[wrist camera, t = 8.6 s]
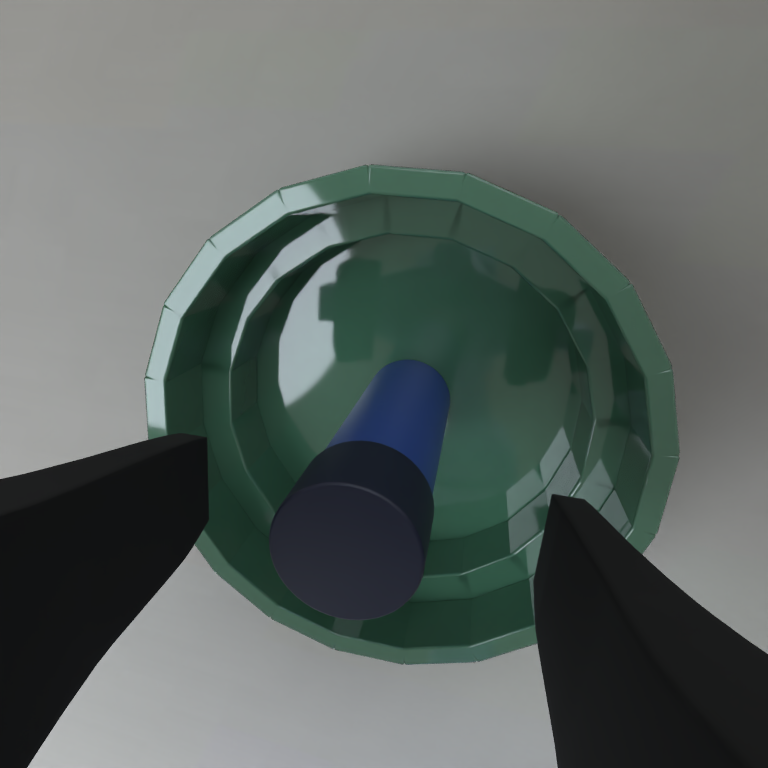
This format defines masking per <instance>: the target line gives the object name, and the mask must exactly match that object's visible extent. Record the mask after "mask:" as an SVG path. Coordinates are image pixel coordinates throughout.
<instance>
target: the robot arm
mask: <svg viewBox="0 0 768 768" xmlns="http://www.w3.org/2000/svg"><path fill="white" fill-rule="evenodd" d="M208 521H209V491H208V447H207V437H203V436H197V435H191V434H184V433H178V434H171V435H166V436H162V437H157V438H153V439H150V440H146V441H142V442H139V443H135V444H132V445H128V446H125V447H121V448H118V449H114V450H111V451H108V452H104V453H101V454H97V455H94V456H90V457H87V458H83V459H80V460H76V461H72V462H68V463H64V464H61V465H57V466H53V467H49V468H45V469H42V470H38V471H34V472H30V473H26V474H22V475H17V476H13V477H8V478H4V479H0V768H27V767H28V765H29V764H30V762H31V761H32V759H33V758H34V756H35V755H36V753H37V752H38V750H39V749H40V747H41V746H42V744H43V742H44V741H45V739H46V738H47V736H48V735H49V733H50V732H51V730H52V729H53V727H54V726H55V724H56V723H57V721H58V720H59V718H60V717H61V715H62V714H63V712H64V711H65V709H66V708H67V706H68V705H69V703H70V702H71V701H72V699H73V698H74V696H75V695H76V693H77V692H78V691H79V689H80V688H81V686H82V685H83V683H84V682H85V680H86V679H87V678H88V676H89V675H90V673H91V672H92V670H93V669H94V668H95V666H96V665H97V663H98V662H99V661H100V660H101V658H102V657H103V656H104V655H105V653H106V652H107V651H108V649H109V648H110V647H111V646H112V644H113V643H114V642H115V641H116V640H117V638H118V637H119V636H120V635H121V634H122V633H123V631H124V630H125V629H126V628H127V627H128V626H129V624H130V623H131V622H132V621H133V620H134V618H135V617H136V616H137V615H138V614H139V613H140V611H141V610H142V609H143V608H144V607H145V606H146V604H147V603H148V602H149V601H150V600H151V599H152V597H153V596H154V595H155V594H156V593H157V592H158V590H159V589H160V588H161V587H162V586H163V584H164V583H165V582H166V581H167V580H168V579H169V577H170V576H171V575H172V574H173V573H174V571H175V570H176V569H177V568H178V567H179V565H180V564H181V563H182V562H183V560H184V559H185V558H186V556H187V555H188V553H189V552H190V550H191V549H192V547H193V546H194V544H195V543H196V541H197V539H198V538H199V536H200V534H201V533H202V531H203V529H204V528H205V526H206V524H207V523H208ZM533 587H534V615H535V631H536V637H537V643H538V649H539V655H540V661H541V667H542V673H543V679H544V685H545V690H546V696H547V702H548V708H549V714H550V719H551V725H552V731H553V737H554V743H555V749H556V757H557V765H558V768H768V654H767V653H765V652H764V651H762V650H761V649H759V648H758V647H756V646H755V645H754V644H752V643H751V642H749V641H748V640H746V639H745V638H744V637H742V636H741V635H740V634H738V633H737V632H735V631H734V630H733V629H731V628H730V627H729V626H727V625H726V624H725V623H723V622H722V621H720V620H719V619H718V618H716V617H715V616H714V615H712V614H711V613H710V612H708V611H707V610H706V609H705V608H703V607H702V606H701V605H700V604H698V603H697V602H696V601H694V600H693V599H692V598H691V597H690V596H688V595H687V594H686V593H685V592H684V591H683V590H681V589H680V588H679V587H678V586H677V585H676V584H674V583H673V582H672V581H671V580H670V579H668V578H667V577H666V576H665V575H664V574H663V573H662V572H661V571H659V570H658V569H657V568H656V567H655V566H654V565H653V564H652V563H651V562H649V561H648V560H647V559H646V558H645V557H644V556H643V555H642V554H641V553H640V552H639V551H638V550H637V549H636V548H635V547H634V546H633V545H631V544H630V543H629V542H628V541H627V540H626V539H625V538H624V537H623V536H622V535H621V534H620V533H619V532H618V531H617V530H616V529H615V528H614V527H613V526H612V525H611V524H610V523H609V522H608V521H607V520H606V519H605V518H604V517H603V516H602V515H601V514H600V513H599V512H598V511H597V510H596V509H595V508H594V507H593V506H592V505H591V504H590V503H588V502H587V501H586V500H585V499H581V498H574V497H568V496H562V495H556V494H552V496H551V500H550V505H549V510H548V514H547V519H546V524H545V528H544V533H543V538H542V543H541V547H540V552H539V557H538V561H537V566H536V571H535V576H534V580H533Z"/></svg>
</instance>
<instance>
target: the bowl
mask: <svg viewBox="0 0 768 768" xmlns="http://www.w3.org/2000/svg"><path fill="white" fill-rule="evenodd" d="M399 360H415V361H419V362H422V363H425V364H427V365H429V366H431V367H432V368H434V369H435V370H436V371H437V372H438V373H439V374H440V375H441V376H442V378H443V379H444V381H445V382H446V384H447V387H448V390H449V394H450V407H449V413H448V418H447V423H446V428H445V433H444V439H443V444H442V449H441V454H440V459H439V465H438V470H437V475H436V480H435V486H434V491H433V499H434V518H433V523H432V529H431V535H430V541H429V546H428V552H427V558H426V563H425V569H424V574H423V578H422V580H421V583H420V585H419V587H418V589H417V590H416V592H415V594H414V595H413V596H412V597H411V598H410V600H409V601H407V602H406V603H405V604H404V605H403V606H402V607H400V608H399V609H397V610H396V611H394V612H392V613H390V614H388V615H385V616H382V617H379V618H375V619H369V620H347V619H341V618H337V617H333V616H329V615H327V614H324V613H321V612H319V611H317V610H315V609H313V608H311V607H310V606H308V605H307V604H305V603H304V602H302V601H301V600H300V599H299V598H297V597H296V596H295V595H294V594H293V593H292V592H291V591H290V590H289V589H288V588H287V587H286V585H285V584H284V583H283V581H282V580H281V578H280V577H279V575H278V573H277V571H276V569H275V567H274V565H273V562H272V559H271V555H270V550H269V532H270V527H271V523H272V520H273V518H274V515H275V513H276V512H277V510H278V508H279V507H280V505H281V504H282V502H283V501H284V500H285V498H286V497H287V495H288V494H289V492H290V491H291V490H292V488H293V487H294V485H295V484H296V482H297V481H298V480H299V478H300V477H301V475H302V474H303V472H304V471H305V470H306V468H307V467H308V465H309V464H310V463H311V461H312V460H313V459H314V458H315V457H316V456H317V455H318V454H320V453H321V452H322V451H324V450H325V449H326V448H327V446H328V445H329V443H330V442H331V440H332V439H333V437H334V436H335V434H336V433H337V431H338V430H339V428H340V427H341V425H342V424H343V422H344V421H345V419H346V418H347V416H348V415H349V414H350V412H351V411H352V409H353V408H354V406H355V405H356V403H357V402H358V400H359V399H360V397H361V396H362V394H363V393H364V391H365V390H366V388H367V387H368V385H369V384H370V382H371V381H372V380H373V378H374V377H375V375H376V374H377V373H378V372H379V371H380V370H381V369H382V368H383V367H385V366H386V365H388V364H390V363H392V362H395V361H399ZM671 368H672V365H671V363H670V361H669V359H668V357H667V355H666V353H665V350H664V348H663V346H662V344H661V342H660V340H659V338H658V336H657V334H656V332H655V330H654V328H653V326H652V324H651V322H650V320H649V317H648V315H647V313H646V311H645V309H644V307H643V305H642V303H641V301H640V299H639V297H638V295H637V293H636V291H635V289H634V287H633V285H632V284H631V283H630V282H629V280H628V279H627V278H626V277H625V276H624V275H623V274H622V273H621V272H620V271H619V270H618V269H617V268H616V267H615V266H614V265H613V264H612V263H611V262H609V261H608V260H607V259H606V258H605V257H604V256H603V255H602V254H601V253H600V252H599V251H598V250H597V249H596V248H595V247H594V246H593V245H592V244H591V243H590V242H589V241H588V240H587V239H585V238H584V237H583V236H582V235H581V234H580V233H579V232H578V231H577V230H576V229H575V228H574V227H573V226H572V225H571V224H570V223H569V222H568V221H567V220H566V219H565V218H564V217H563V216H561V215H558V213H557V212H555V211H553V210H551V209H548V208H546V207H544V206H542V205H540V204H537V203H535V202H533V201H531V200H528V199H526V198H524V197H522V196H519V195H517V194H515V193H513V192H510V191H508V190H506V189H504V188H501V187H499V186H497V185H495V184H493V183H490V182H488V181H486V180H484V179H481V178H479V177H477V176H475V175H472V174H470V173H467V174H466V173H464V172H460V171H448V170H435V169H423V168H410V167H398V166H386V165H373V164H371V165H369V166H368V165H363V166H359V167H355V168H352V169H348V170H344V171H341V172H337V173H333V174H330V175H326V176H322V177H319V178H315V179H311V180H307V181H304V182H300V183H296V184H293V185H289V186H285V187H282V188H280V189H279V190H276V191H274V192H273V193H271V194H270V195H269V196H267V197H266V198H264V199H263V200H262V201H260V202H259V203H257V204H256V205H254V206H253V207H252V208H250V209H249V210H247V211H246V212H245V213H243V214H242V215H240V216H239V217H238V218H236V219H235V220H233V221H232V222H231V223H229V224H228V225H226V226H225V227H224V228H222V229H221V230H219V231H218V232H216V233H215V234H214V235H212V236H211V237H210V239H208V240H207V241H206V242H205V244H204V245H203V247H202V248H201V250H200V251H199V252H198V254H197V255H196V257H195V258H194V260H193V261H192V263H191V264H190V266H189V267H188V269H187V270H186V271H185V273H184V274H183V276H182V277H181V279H180V280H179V282H178V283H177V285H176V286H175V288H174V289H173V291H172V292H171V293H170V295H169V296H168V298H167V299H166V301H165V302H164V306H163V309H162V313H161V316H160V320H159V324H158V328H157V332H156V335H155V339H154V343H153V347H152V351H151V355H150V358H149V362H148V366H147V370H146V374H145V376H146V377H145V378H144V380H145V395H146V410H147V426H148V440H150V439H153V438H157V437H162V436H166V435H171V434H178V433H184V434H191V435H197V436H203V437H207V447H208V491H209V521H208V523H207V524H206V526H205V528H204V529H203V531H202V533H201V534H200V536H199V538H198V539H197V541H196V543H195V546H196V547H197V548H198V550H199V551H200V552H201V554H202V555H203V557H204V558H205V559H206V561H207V562H208V564H209V565H210V566H211V568H212V569H213V570H214V572H217V574H218V575H219V576H220V577H221V578H222V579H224V580H225V581H226V582H227V583H228V584H230V585H231V586H232V587H233V588H234V589H236V590H237V591H238V592H239V593H240V594H242V595H243V596H244V597H245V598H246V599H248V600H249V601H250V602H251V603H252V604H253V605H255V606H256V607H257V608H258V609H259V610H261V611H262V612H263V613H264V614H265V615H267V616H268V617H271V619H272V620H274V621H277V622H279V623H281V624H283V625H285V626H287V627H289V628H291V629H293V630H295V631H297V632H299V633H301V634H303V635H305V636H307V637H309V638H311V639H313V640H315V641H317V642H319V643H322V644H324V645H326V646H328V647H330V648H332V649H334V648H335V650H338V651H343V652H347V653H352V654H356V655H361V656H366V657H370V658H375V659H379V660H384V661H389V662H393V663H398V664H404V663H405V664H406V665H412V664H440V663H468V662H476V660H477V661H478V662H480V661H483V660H486V659H489V658H493V657H496V656H499V655H502V654H505V653H508V652H512V651H515V650H518V649H521V648H524V647H528V646H531V645H534V644H537V637H536V631H535V615H534V587H533V580H534V576H535V571H536V566H537V561H538V557H539V552H540V547H541V543H542V538H543V533H544V528H545V524H546V519H547V514H548V510H549V505H550V500H551V496H552V494H556V495H562V496H568V497H574V498H581V499H585V500H586V501H587V502H588V503H590V504H591V505H592V506H593V507H594V508H595V509H596V510H597V511H598V512H599V513H600V514H601V515H602V516H603V517H604V518H605V519H606V520H607V521H608V522H609V523H610V524H611V525H612V526H613V527H614V528H615V529H616V530H617V531H618V532H619V533H620V534H621V535H622V536H623V537H624V538H625V539H626V540H627V541H628V542H629V543H630V544H631V545H633V546H634V547H635V548H636V549H637V550H638V551H639V552H640V553H641V554H643V552H644V551H645V550H646V548H647V547H648V546H649V544H650V543H651V542H652V540H653V539H654V538H655V534H657V532H658V529H659V525H660V522H661V519H662V515H663V512H664V508H665V505H666V502H667V498H668V495H669V491H670V488H671V485H672V481H673V478H674V474H675V471H676V468H677V464H678V461H679V456H678V455H679V453H680V449H679V437H678V425H677V413H676V401H675V389H674V377H673V370H672V369H671Z"/></svg>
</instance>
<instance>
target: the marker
mask: <svg viewBox="0 0 768 768" xmlns="http://www.w3.org/2000/svg"><path fill="white" fill-rule="evenodd" d="M449 407H450V394H449V390H448V387H447V384H446V382H445V381H444V379H443V378H442V376H441V375H440V374H439V373H438V372H437V371H436V370H435V369H434V368H432V367H431V366H429V365H427V364H425V363H422V362H419V361H415V360H399V361H395V362H392V363H390V364H388V365H386V366H385V367H383V368H382V369H381V370H380V371H379V372H378V373H377V374H376V375H375V377H374V378H373V380H372V381H371V382H370V384H369V385H368V387H367V388H366V390H365V391H364V393H363V394H362V396H361V397H360V399H359V400H358V402H357V403H356V405H355V406H354V408H353V409H352V411H351V412H350V414H349V415H348V416H347V418H346V419H345V421H344V422H343V424H342V425H341V427H340V428H339V430H338V431H337V433H336V434H335V436H334V437H333V439H332V440H331V442H330V443H329V445H328V446H327V448H326V449H325V450H324V451H322V452H321V453H320V454H318V455H317V456H316V457H315V458H314V459H313V460H312V461H311V463H310V464H309V465H308V467H307V468H306V470H305V471H304V472H303V474H302V475H301V477H300V478H299V480H298V481H297V482H296V484H295V485H294V487H293V488H292V490H291V491H290V492H289V494H288V495H287V497H286V498H285V500H284V501H283V502H282V504H281V505H280V507H279V508H278V510H277V512H276V513H275V515H274V518H273V520H272V523H271V527H270V532H269V550H270V555H271V559H272V562H273V565H274V567H275V569H276V571H277V573H278V575H279V577H280V578H281V580H282V581H283V583H284V584H285V585H286V587H287V588H288V589H289V590H290V591H291V592H292V593H293V594H294V595H295V596H296V597H297V598H299V599H300V600H301V601H302V602H304V603H305V604H307V605H308V606H310V607H311V608H313V609H315V610H317V611H319V612H321V613H324V614H327V615H329V616H333V617H337V618H341V619H347V620H369V619H375V618H379V617H382V616H385V615H388V614H390V613H392V612H394V611H396V610H397V609H399V608H400V607H402V606H403V605H404V604H405V603H406V602H407V601H409V600H410V598H411V597H412V596H413V595H414V594H415V592H416V590H417V589H418V587H419V585H420V583H421V580H422V578H423V574H424V569H425V563H426V558H427V552H428V546H429V541H430V535H431V529H432V523H433V518H434V499H433V491H434V486H435V480H436V475H437V470H438V465H439V459H440V454H441V449H442V444H443V439H444V433H445V428H446V423H447V418H448V413H449Z"/></svg>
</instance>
